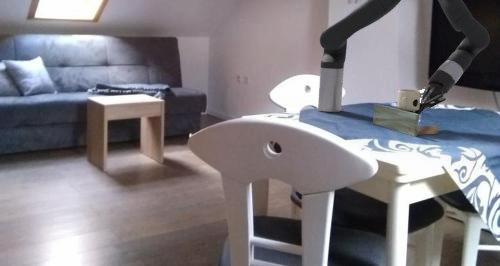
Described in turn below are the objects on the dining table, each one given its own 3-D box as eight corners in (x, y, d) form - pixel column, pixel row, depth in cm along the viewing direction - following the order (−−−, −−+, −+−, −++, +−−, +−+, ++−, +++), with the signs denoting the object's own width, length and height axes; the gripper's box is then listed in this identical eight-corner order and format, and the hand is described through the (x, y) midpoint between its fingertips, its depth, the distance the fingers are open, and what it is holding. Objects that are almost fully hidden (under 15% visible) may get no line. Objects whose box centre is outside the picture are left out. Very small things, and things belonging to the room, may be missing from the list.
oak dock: (414, 136, 152) (416, 114, 151) (372, 123, 172) (374, 103, 171) (442, 134, 156) (444, 113, 155) (398, 121, 176) (400, 102, 175)
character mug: (411, 132, 158) (415, 93, 155) (390, 130, 162) (393, 91, 159) (421, 127, 166) (425, 89, 163) (401, 125, 170) (404, 88, 167)
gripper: (427, 67, 170) (395, 103, 169) (455, 70, 158) (422, 109, 157) (437, 82, 173) (407, 117, 172) (466, 86, 161) (433, 124, 160)
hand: (414, 113), depth 164 cm, fingers closed
